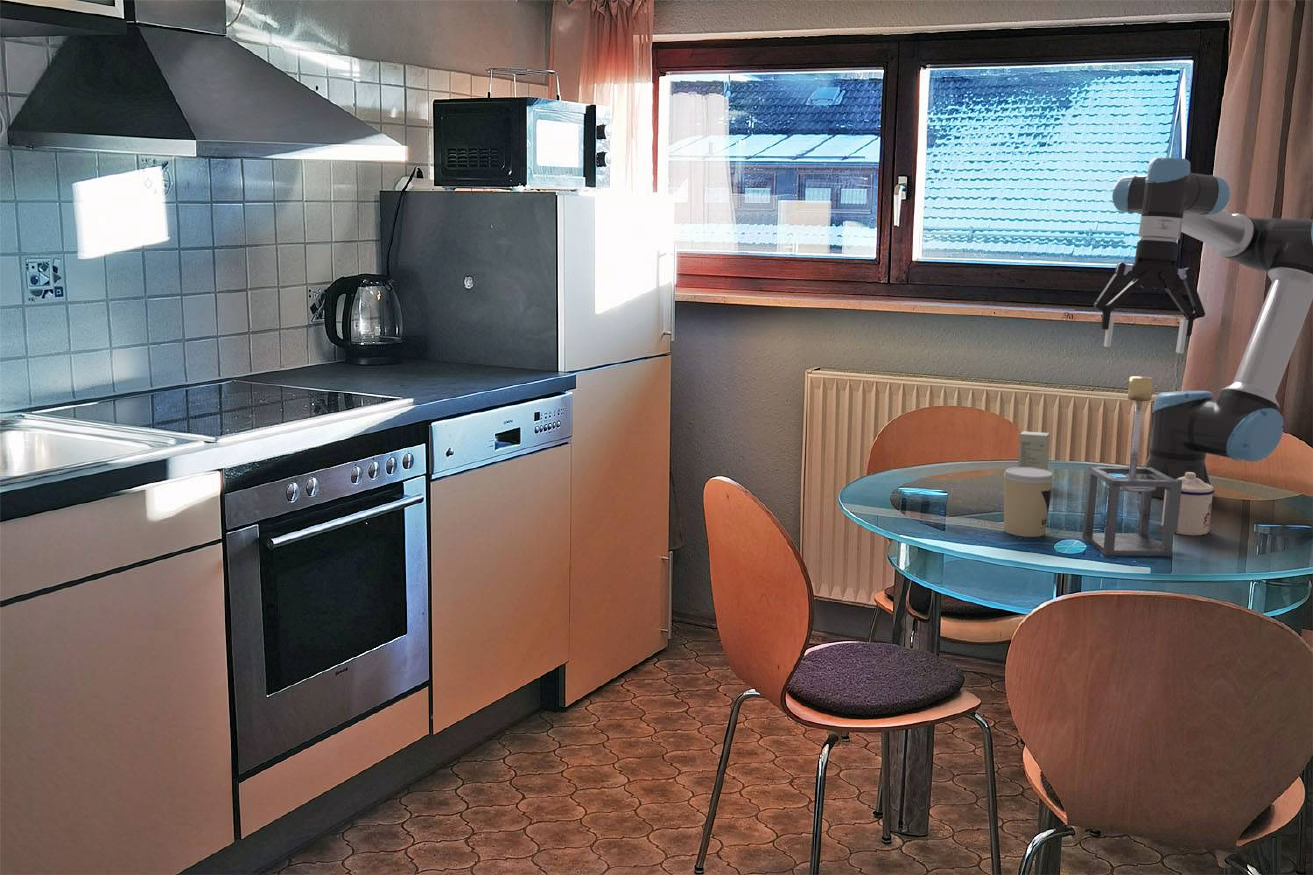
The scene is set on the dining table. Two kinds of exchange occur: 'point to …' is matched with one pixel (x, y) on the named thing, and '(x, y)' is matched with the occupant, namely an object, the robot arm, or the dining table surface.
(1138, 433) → the plunger
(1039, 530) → the cream lidded tub
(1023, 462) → the skincare box
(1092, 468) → the press frame
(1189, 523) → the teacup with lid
